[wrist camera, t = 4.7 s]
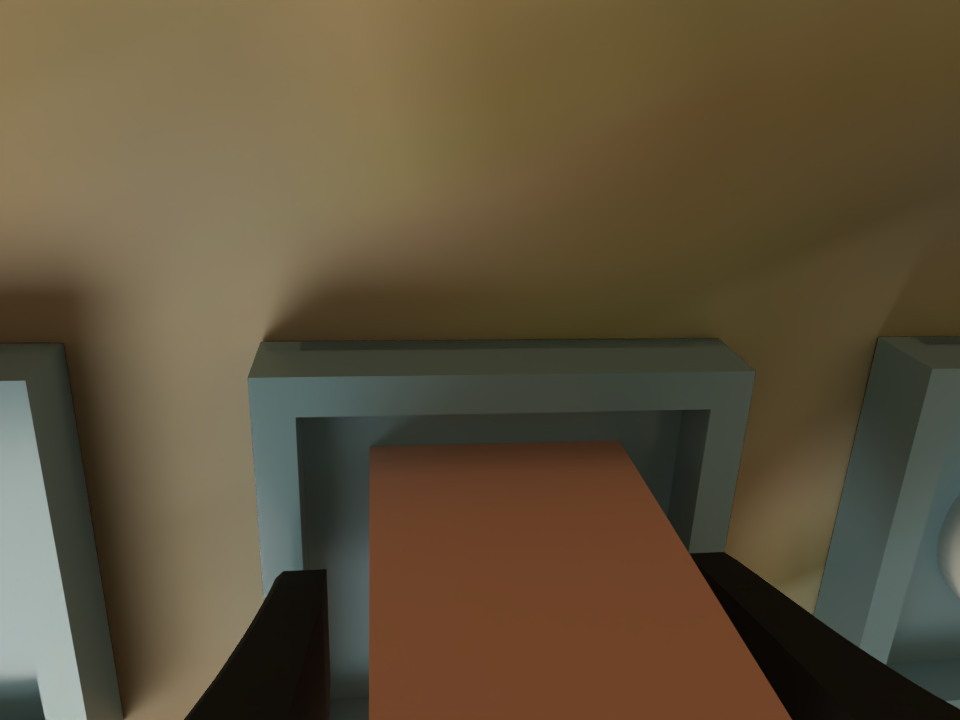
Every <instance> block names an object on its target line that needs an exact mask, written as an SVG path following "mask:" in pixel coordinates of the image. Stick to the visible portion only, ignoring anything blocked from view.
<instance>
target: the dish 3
mask: <svg viewBox="0 0 960 720" xmlns="http://www.w3.org/2000/svg"><path fill="white" fill-rule="evenodd" d="M959 495H960V337H878V341H877V346H876V350H875V354H874V358H873V363H872V367H871V371H870V376H869V380H868V384H867V389H866V393H865V397H864V402H863V406H862V410H861V415H860V419H859V423H858V427H857V432H856V436H855V440H854V445H853V449H852V453H851V458H850V462H849V466H848V471H847V475H846V479H845V484H844V488H843V492H842V497H841V501H840V505H839V509H838V514H837V518H836V522H835V527H834V531H833V535H832V540H831V544H830V548H829V553H828V557H827V561H826V566H825V570H824V574H823V578H822V583H821V587H820V591H819V596H818V600H817V604H816V609H815V613H814V617H816V618H817V619H819V620H820V621H821V622H823V623H824V624H826V625H827V626H828V627H830V628H831V629H833V630H834V631H836V632H837V633H839V634H840V635H841V636H843V637H844V638H846V639H847V640H849V641H850V642H852V643H853V644H855V645H856V646H858V647H859V648H861V649H862V650H863V651H865V652H866V653H868V654H869V655H871V656H873V657H874V658H876V659H877V660H879V661H880V662H882V663H884V664H885V665H887V666H888V667H890V668H891V669H893V670H895V671H896V672H898V673H899V674H901V675H902V676H904V677H905V678H907V679H909V680H910V681H912V682H914V683H915V684H917V685H919V686H920V687H922V688H924V689H925V690H927V691H929V692H930V693H932V694H934V695H935V696H937V697H939V698H941V699H943V700H944V701H946V702H948V703H950V704H952V705H953V706H955V707H957V708H959V709H960V598H959V597H958V596H957V595H956V594H955V593H954V592H953V591H952V590H951V589H950V588H949V587H948V586H947V584H946V583H945V581H944V580H943V578H942V575H941V573H940V570H939V566H938V561H937V546H938V538H939V534H940V530H941V527H942V525H943V522H944V520H945V517H946V515H947V513H948V511H949V510H950V508H951V506H952V504H953V503H954V501H955V500H956V499H957V497H958V496H959Z"/></svg>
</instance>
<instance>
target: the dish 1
mask: <svg viewBox="0 0 960 720" xmlns="http://www.w3.org/2000/svg"><path fill="white" fill-rule="evenodd" d="M0 720H124V719H123V713H122V707H121V701H120V694H119V688H118V682H117V676H116V670H115V663H114V657H113V651H112V645H111V638H110V632H109V626H108V620H107V613H106V607H105V601H104V595H103V588H102V582H101V576H100V570H99V563H98V557H97V551H96V545H95V539H94V532H93V526H92V520H91V514H90V507H89V501H88V495H87V489H86V482H85V476H84V470H83V464H82V457H81V451H80V445H79V439H78V432H77V426H76V420H75V414H74V408H73V401H72V395H71V389H70V383H69V376H68V370H67V364H66V358H65V351H64V345H63V343H27V344H0Z"/></svg>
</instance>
